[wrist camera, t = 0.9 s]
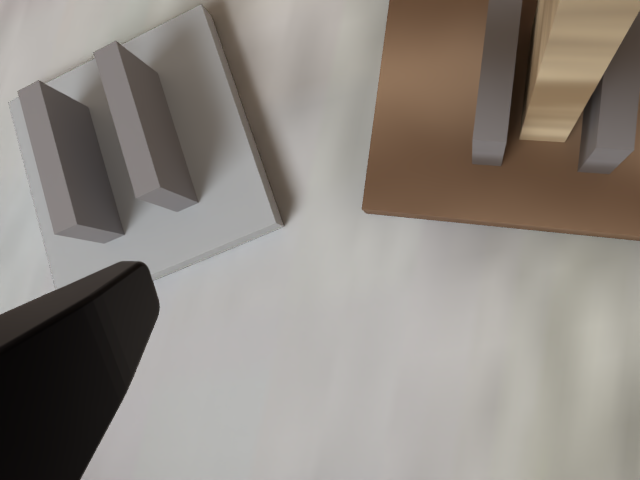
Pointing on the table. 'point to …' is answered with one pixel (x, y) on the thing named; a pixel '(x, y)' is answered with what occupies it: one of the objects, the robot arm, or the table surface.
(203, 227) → the slate stand
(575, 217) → the offcut rack
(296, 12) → the table surface
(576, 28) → the tan wooden block
